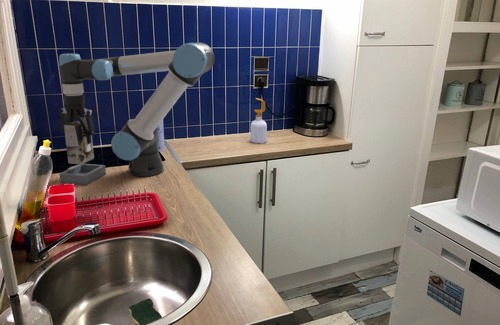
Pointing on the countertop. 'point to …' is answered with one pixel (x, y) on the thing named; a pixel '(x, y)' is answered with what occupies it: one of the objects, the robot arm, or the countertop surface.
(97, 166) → the pocket tray
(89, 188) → the countertop surface
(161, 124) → the aerosol can
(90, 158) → the coffee box
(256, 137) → the soap bottle
